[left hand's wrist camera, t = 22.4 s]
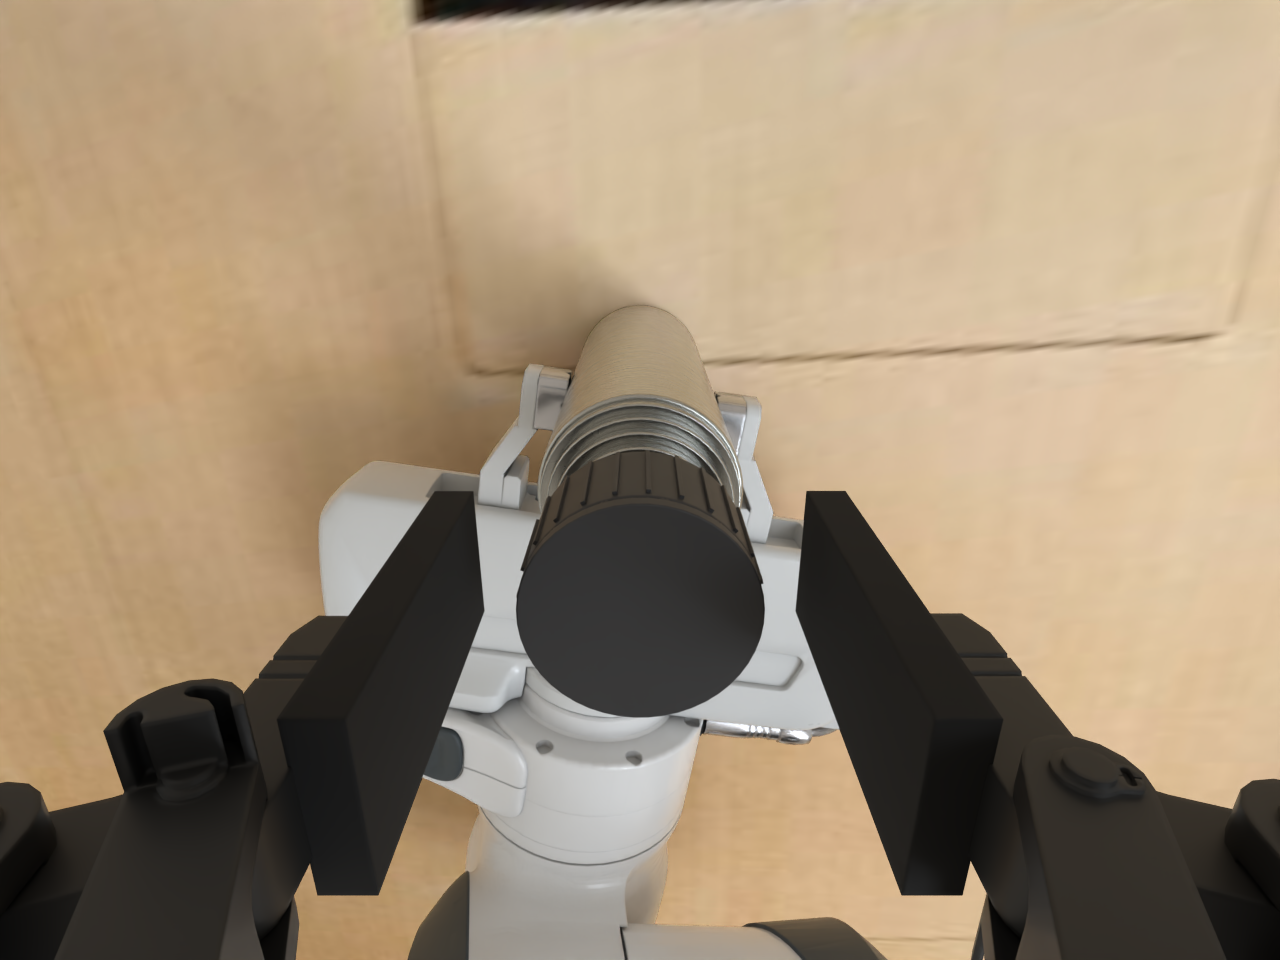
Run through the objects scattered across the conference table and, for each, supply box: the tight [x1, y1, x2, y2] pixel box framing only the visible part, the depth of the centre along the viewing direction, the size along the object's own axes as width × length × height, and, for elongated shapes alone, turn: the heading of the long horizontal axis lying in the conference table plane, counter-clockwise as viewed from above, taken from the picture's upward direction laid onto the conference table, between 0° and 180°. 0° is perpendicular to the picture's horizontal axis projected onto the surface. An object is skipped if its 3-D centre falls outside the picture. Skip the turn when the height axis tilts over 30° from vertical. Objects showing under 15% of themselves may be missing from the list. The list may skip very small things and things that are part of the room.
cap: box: [516, 450, 765, 718], centre depth 13 cm, size 4×4×3 cm
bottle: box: [537, 306, 743, 514], centre depth 22 cm, size 5×5×19 cm
